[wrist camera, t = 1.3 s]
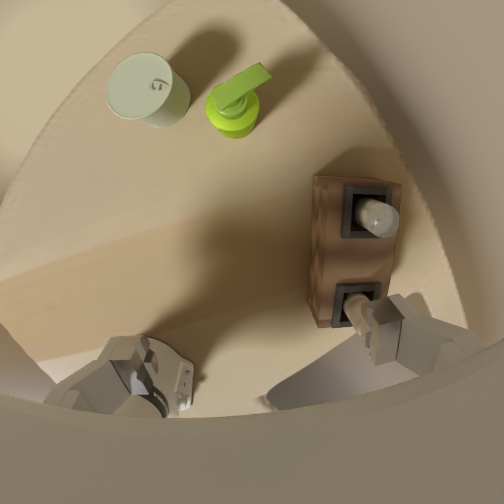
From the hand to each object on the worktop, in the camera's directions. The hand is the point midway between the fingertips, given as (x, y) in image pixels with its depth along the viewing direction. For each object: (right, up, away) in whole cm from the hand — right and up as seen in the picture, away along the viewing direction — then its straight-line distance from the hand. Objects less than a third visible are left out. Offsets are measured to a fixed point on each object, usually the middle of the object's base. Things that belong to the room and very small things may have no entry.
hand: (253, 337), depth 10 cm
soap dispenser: (-2, +23, +30) cm, 38 cm away
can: (-14, +27, +29) cm, 42 cm away
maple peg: (+15, -4, +33) cm, 36 cm away
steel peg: (+15, +9, +28) cm, 33 cm away
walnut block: (+15, +5, +37) cm, 40 cm away
